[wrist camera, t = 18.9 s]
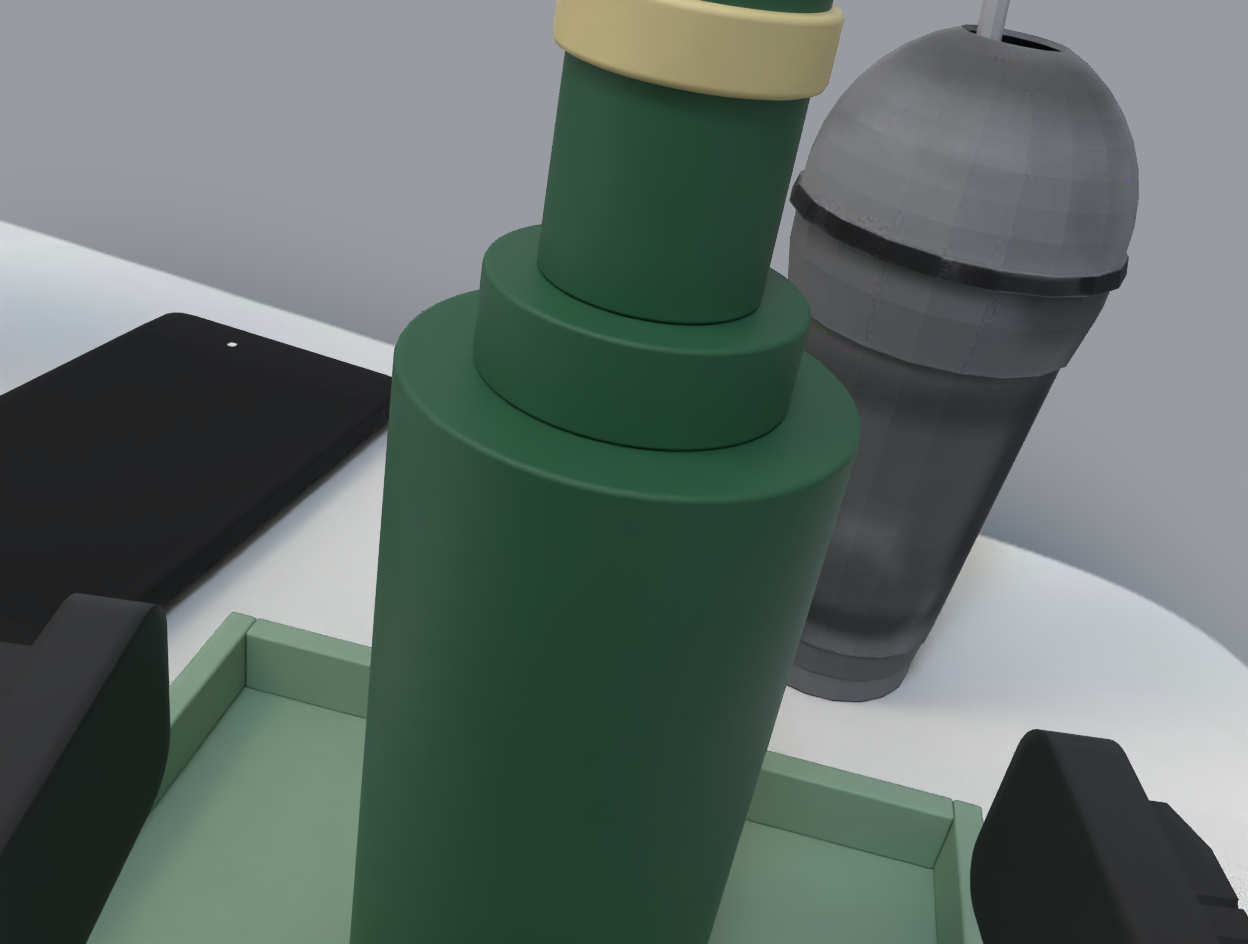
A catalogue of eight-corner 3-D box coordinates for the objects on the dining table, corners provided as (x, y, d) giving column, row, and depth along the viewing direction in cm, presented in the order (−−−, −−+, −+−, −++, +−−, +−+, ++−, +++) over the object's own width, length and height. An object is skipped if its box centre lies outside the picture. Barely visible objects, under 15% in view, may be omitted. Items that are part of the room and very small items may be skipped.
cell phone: (-369, 618, 25) (-380, 581, 24) (175, 332, 40) (174, 307, 40) (-17, 762, 23) (-23, 726, 23) (410, 407, 38) (412, 380, 38)
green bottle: (285, 1112, 18) (329, -76, 10) (414, 841, 23) (516, -105, 15) (643, 1221, 17) (1011, 65, 9) (697, 920, 22) (970, -14, 14)
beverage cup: (814, 778, 27) (1156, -239, 17) (633, 595, 32) (817, -277, 22) (1017, 692, 31) (1390, -170, 21) (830, 542, 36) (1060, -215, 26)
